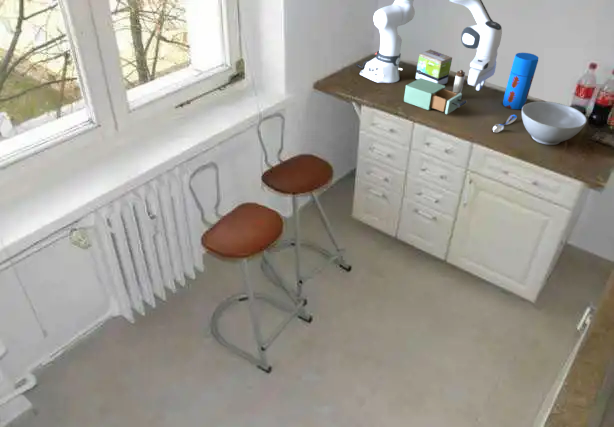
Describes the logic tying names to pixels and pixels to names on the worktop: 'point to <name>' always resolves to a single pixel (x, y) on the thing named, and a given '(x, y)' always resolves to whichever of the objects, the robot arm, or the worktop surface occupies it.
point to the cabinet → (421, 92)
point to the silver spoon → (500, 126)
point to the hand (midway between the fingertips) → (478, 89)
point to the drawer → (446, 101)
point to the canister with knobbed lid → (459, 82)
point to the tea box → (433, 67)
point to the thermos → (520, 80)
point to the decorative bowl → (552, 121)
